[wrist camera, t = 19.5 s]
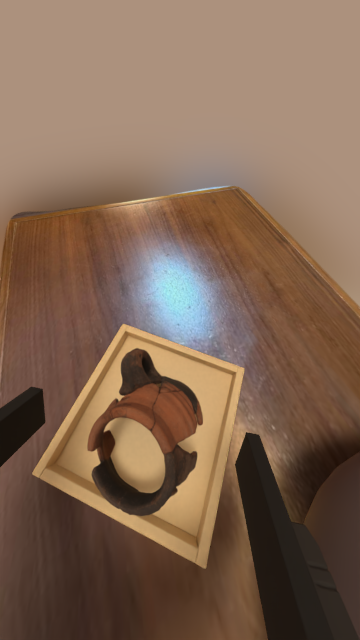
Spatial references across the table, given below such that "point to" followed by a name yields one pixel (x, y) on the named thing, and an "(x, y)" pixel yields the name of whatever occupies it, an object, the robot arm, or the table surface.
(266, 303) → the table surface
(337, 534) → the smooth stone
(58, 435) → the wooden tray
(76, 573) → the table surface
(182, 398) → the pottery mug
